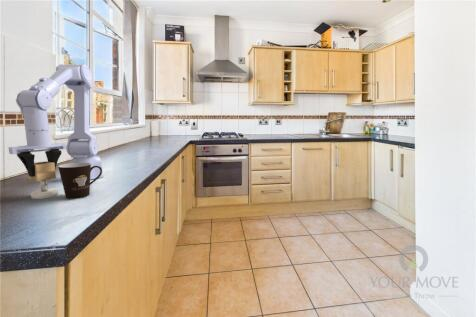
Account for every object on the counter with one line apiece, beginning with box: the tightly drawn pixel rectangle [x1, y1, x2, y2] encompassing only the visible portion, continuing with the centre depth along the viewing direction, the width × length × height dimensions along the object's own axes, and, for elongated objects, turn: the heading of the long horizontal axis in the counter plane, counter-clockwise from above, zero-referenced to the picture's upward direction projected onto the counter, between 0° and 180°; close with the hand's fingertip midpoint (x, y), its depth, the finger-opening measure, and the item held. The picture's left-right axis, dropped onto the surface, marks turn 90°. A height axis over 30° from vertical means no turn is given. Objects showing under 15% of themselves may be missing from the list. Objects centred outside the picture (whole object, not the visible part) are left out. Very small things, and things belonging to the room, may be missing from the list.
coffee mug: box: [57, 162, 103, 200], centre depth 82 cm, size 12×9×10 cm
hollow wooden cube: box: [28, 161, 57, 182], centre depth 81 cm, size 5×5×5 cm
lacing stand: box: [30, 187, 59, 200], centre depth 82 cm, size 7×7×2 cm
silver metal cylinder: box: [39, 180, 49, 192], centre depth 82 cm, size 2×2×6 cm
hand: (42, 174), depth 81 cm, fingers closed on hollow wooden cube, 5 cm apart
